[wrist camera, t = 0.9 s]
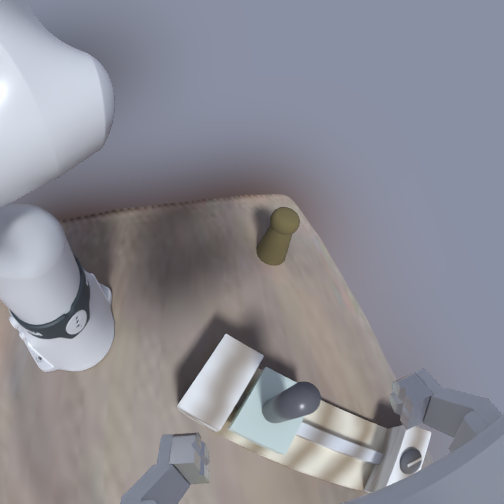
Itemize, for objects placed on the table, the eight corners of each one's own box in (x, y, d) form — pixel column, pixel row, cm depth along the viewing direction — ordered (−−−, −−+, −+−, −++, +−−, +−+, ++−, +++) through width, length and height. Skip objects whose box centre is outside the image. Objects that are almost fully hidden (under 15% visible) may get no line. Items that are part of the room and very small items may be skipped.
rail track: (178, 410, 36) (177, 404, 30) (220, 348, 43) (226, 331, 38) (385, 496, 30) (412, 497, 24) (406, 437, 38) (434, 431, 32)
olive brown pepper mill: (276, 238, 60) (292, 199, 52) (291, 260, 57) (311, 223, 49) (251, 245, 58) (264, 204, 49) (265, 268, 55) (282, 230, 46)
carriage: (225, 429, 34) (245, 423, 23) (258, 374, 40) (290, 341, 29) (275, 453, 33) (318, 455, 22) (303, 397, 39) (352, 373, 28)
